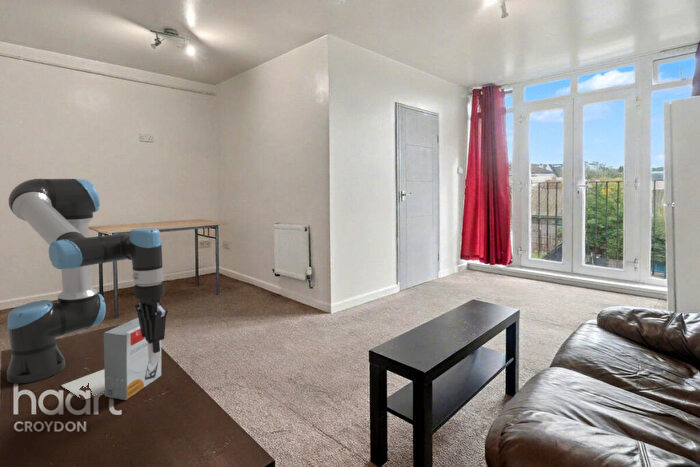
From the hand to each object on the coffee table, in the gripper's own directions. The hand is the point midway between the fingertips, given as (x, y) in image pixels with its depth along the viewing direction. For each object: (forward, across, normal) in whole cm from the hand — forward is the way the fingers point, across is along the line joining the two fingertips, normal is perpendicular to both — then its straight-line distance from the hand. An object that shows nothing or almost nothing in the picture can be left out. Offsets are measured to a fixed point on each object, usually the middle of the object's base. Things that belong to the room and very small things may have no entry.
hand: (154, 361), depth 110 cm
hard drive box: (+11, -12, 0) cm, 17 cm away
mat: (+11, -24, -5) cm, 27 cm away
